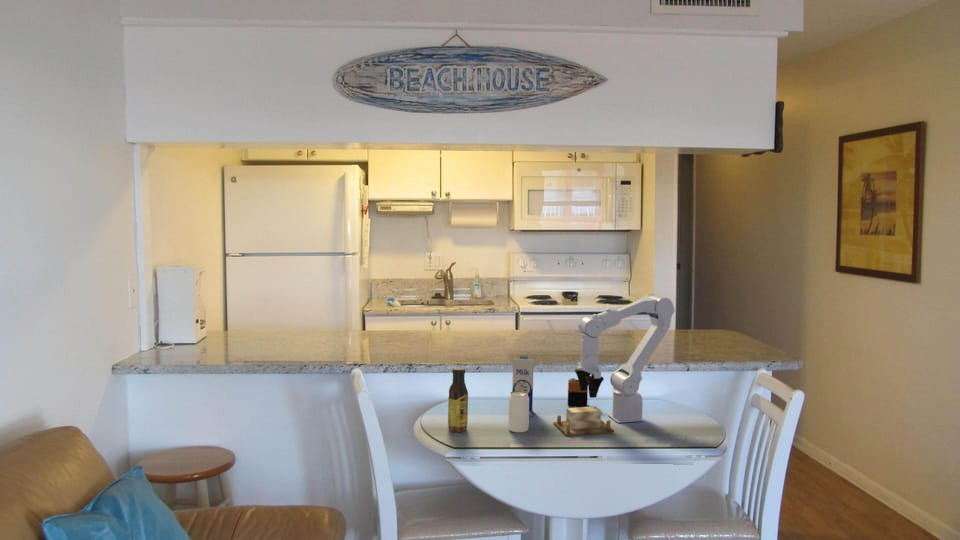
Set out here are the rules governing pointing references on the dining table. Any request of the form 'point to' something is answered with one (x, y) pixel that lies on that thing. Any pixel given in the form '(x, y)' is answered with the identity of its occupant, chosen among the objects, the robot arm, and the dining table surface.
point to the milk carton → (524, 378)
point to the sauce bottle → (458, 402)
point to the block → (583, 417)
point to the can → (518, 412)
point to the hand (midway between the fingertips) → (588, 393)
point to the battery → (576, 394)
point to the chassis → (586, 431)
